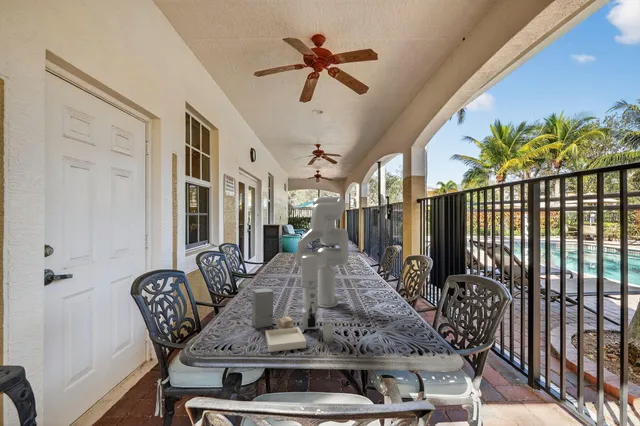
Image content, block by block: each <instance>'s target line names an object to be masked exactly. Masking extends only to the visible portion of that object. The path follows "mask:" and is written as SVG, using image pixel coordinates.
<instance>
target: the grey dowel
mask: <svg viewBox="0 0 640 426" xmlns="http://www.w3.org/2000/svg"><path fill="white" fill-rule="evenodd" d="M322 326H323V327H322V341H323V342H325V343H333V342H334V325H333V324H332V323H324V324H323V325H322Z"/></svg>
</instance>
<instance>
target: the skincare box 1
mask: <svg viewBox="0 0 640 426" xmlns="http://www.w3.org/2000/svg"><path fill="white" fill-rule="evenodd" d="M251 304H252V305H251V306H252V307H251V308H252V311H251V324H252V326H254V329H262V328H266V327H273V325H274V324H273V323H274V290H272V289H270V288H259V289H252V303H251Z"/></svg>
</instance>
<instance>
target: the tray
mask: <svg viewBox="0 0 640 426" xmlns="http://www.w3.org/2000/svg"><path fill="white" fill-rule="evenodd" d="M264 336H265V340H266V345H267V348H268V353H269V352H270V353H271V352H272V353H273V352H280V351H281V352H282V351H289V350H297V349H305V348H307V340H306V338H305V336H304V334H303V332H302V331H301V329H300V327H299V326H296V327H294V326H293V328H284V329H278V328H276V329H266V330H265V335H264Z"/></svg>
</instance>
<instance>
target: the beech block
mask: <svg viewBox="0 0 640 426" xmlns="http://www.w3.org/2000/svg"><path fill="white" fill-rule="evenodd" d="M284 328H294V319H293V318H291V317H290V316H285V317H284V316H283V317H279V318H277V329H284Z"/></svg>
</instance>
